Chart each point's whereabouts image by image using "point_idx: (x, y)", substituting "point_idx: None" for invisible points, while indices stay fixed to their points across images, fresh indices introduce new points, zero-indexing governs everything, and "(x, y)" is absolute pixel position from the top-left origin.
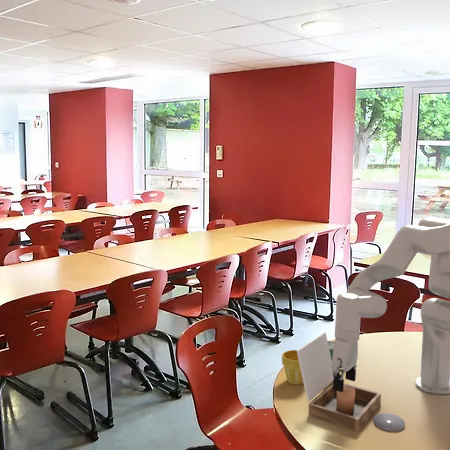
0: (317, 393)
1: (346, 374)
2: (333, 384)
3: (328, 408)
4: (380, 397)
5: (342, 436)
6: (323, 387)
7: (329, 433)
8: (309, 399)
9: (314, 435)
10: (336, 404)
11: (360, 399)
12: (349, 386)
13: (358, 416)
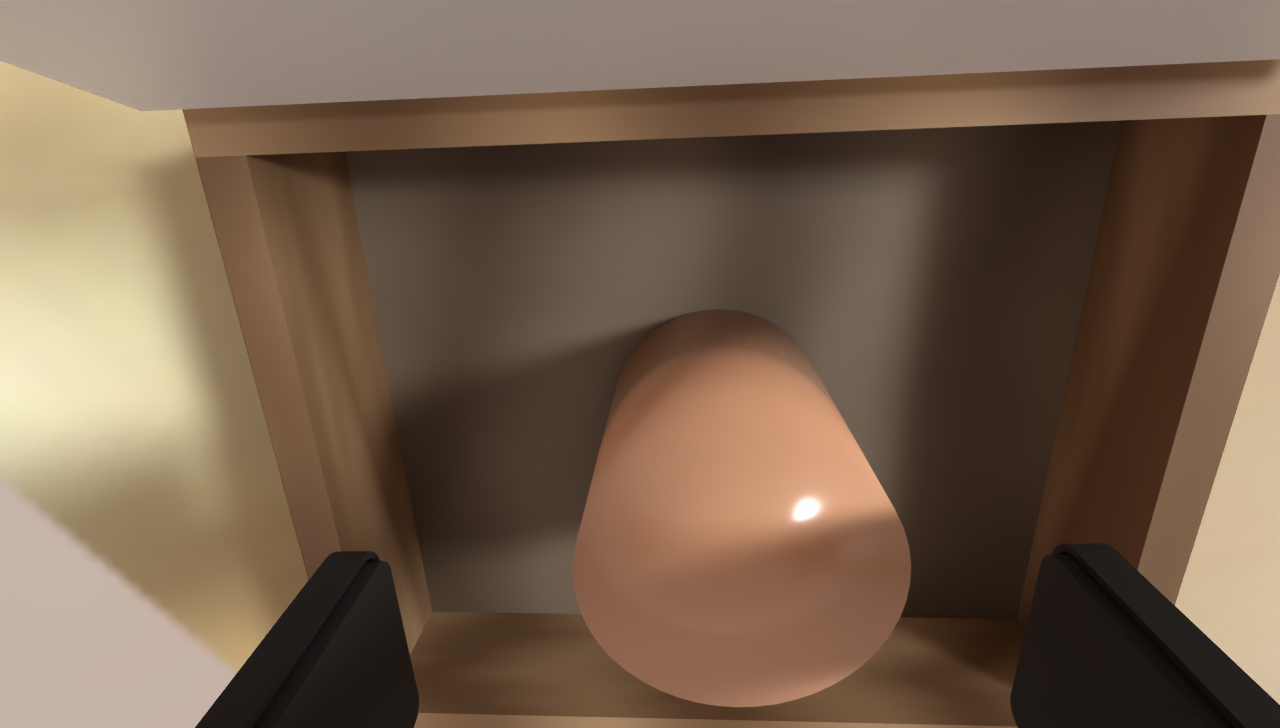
0: (473, 92)
1: (1122, 652)
2: (268, 638)
3: (617, 237)
4: None
5: (259, 557)
6: (765, 73)
7: (205, 454)
8: (135, 101)
9: (58, 358)
10: (667, 338)
11: (1054, 460)
12: (874, 597)
13: (415, 723)
